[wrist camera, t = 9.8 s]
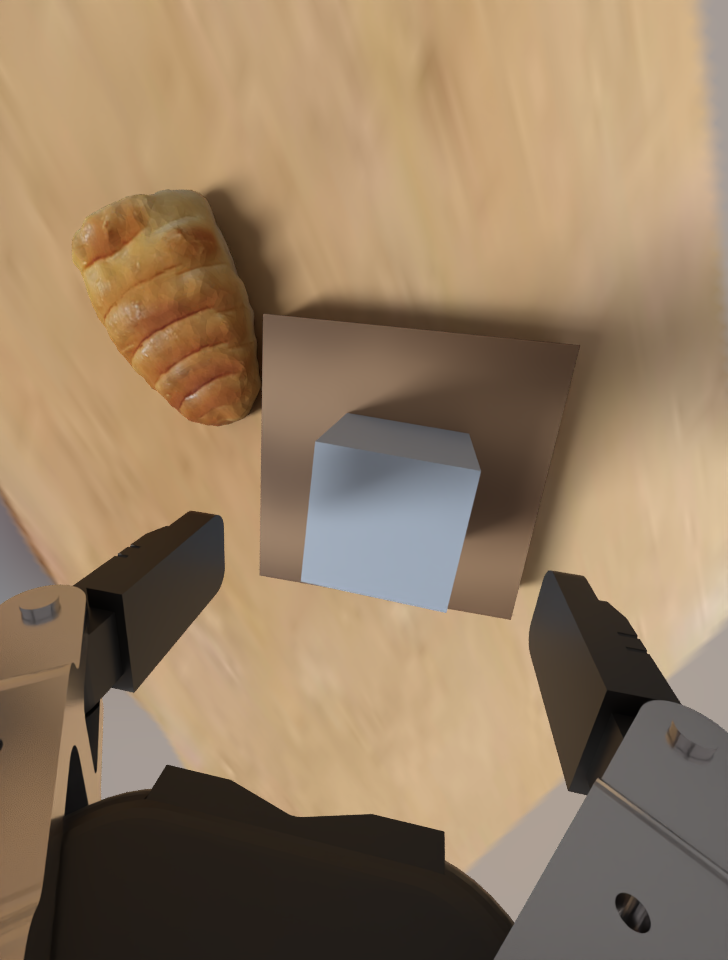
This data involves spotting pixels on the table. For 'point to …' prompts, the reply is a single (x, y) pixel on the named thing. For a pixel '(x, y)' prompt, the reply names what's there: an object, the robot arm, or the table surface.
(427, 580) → the blue cube
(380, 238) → the table surface
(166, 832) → the robot arm
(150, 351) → the pastry
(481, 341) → the walnut base
